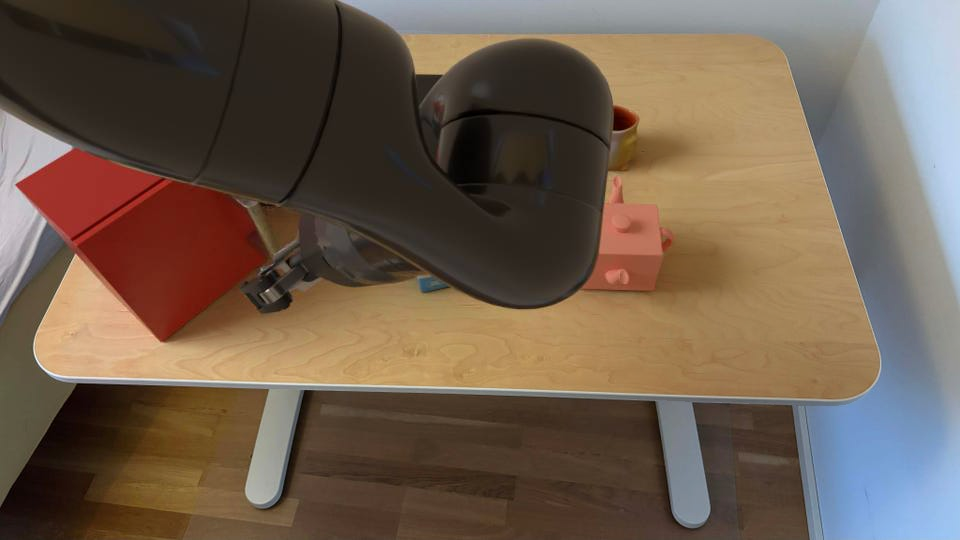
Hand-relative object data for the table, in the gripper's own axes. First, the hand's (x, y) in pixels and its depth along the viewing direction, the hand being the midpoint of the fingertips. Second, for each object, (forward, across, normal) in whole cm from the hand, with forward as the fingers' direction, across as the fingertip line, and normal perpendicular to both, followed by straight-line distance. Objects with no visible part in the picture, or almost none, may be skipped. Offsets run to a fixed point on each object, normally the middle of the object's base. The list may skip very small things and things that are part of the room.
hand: (307, 247), depth 55 cm
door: (+25, +4, +2) cm, 26 cm away
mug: (+13, -41, +15) cm, 45 cm away
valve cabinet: (+31, +4, -4) cm, 32 cm away
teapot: (+4, -27, +24) cm, 37 cm away
